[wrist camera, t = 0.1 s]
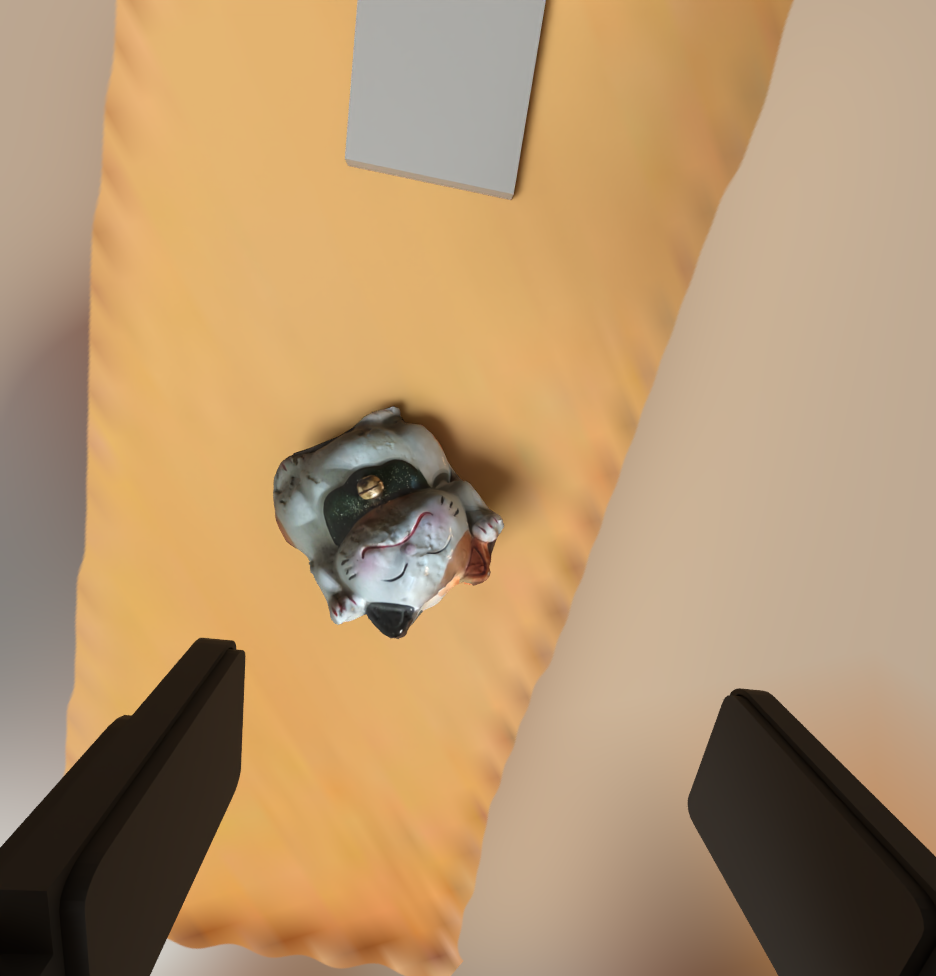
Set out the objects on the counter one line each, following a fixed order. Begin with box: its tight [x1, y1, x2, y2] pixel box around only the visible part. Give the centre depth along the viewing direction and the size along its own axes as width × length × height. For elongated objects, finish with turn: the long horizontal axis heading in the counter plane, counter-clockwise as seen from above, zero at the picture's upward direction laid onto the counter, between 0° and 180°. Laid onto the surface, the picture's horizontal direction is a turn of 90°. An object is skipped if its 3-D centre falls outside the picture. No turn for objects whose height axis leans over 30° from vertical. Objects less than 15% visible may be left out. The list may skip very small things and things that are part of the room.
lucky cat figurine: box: [273, 406, 504, 639], centre depth 34 cm, size 15×12×14 cm
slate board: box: [345, 0, 546, 200], centre depth 31 cm, size 12×12×1 cm
